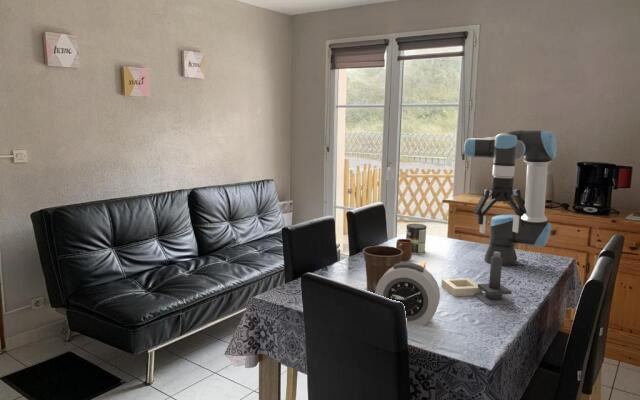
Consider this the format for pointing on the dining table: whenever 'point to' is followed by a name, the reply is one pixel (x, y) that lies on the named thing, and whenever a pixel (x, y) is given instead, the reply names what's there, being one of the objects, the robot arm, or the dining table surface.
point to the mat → (493, 302)
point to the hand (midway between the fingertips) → (498, 232)
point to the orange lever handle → (423, 264)
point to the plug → (495, 280)
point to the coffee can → (417, 237)
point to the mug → (405, 248)
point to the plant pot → (379, 263)
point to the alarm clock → (411, 291)
